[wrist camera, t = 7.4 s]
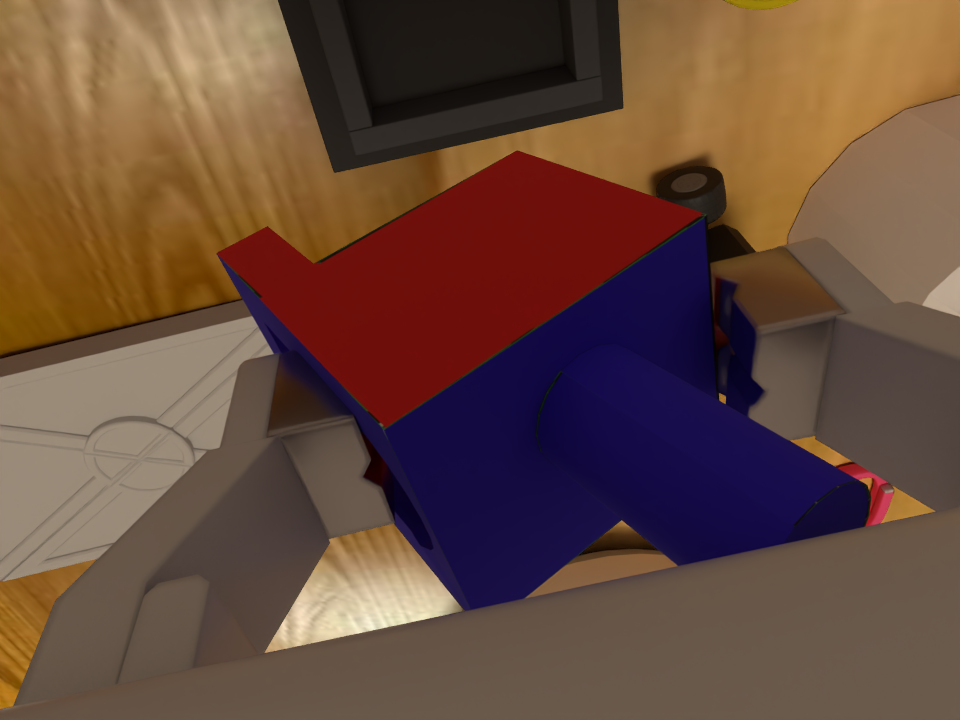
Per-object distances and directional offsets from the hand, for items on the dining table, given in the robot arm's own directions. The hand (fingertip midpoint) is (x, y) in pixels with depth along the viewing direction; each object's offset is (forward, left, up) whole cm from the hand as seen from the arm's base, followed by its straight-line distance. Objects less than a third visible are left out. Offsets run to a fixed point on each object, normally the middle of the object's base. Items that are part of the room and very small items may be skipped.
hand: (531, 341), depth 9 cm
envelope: (+19, -20, -24) cm, 37 cm away
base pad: (0, +1, -24) cm, 24 cm away
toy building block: (0, -1, -3) cm, 3 cm away
